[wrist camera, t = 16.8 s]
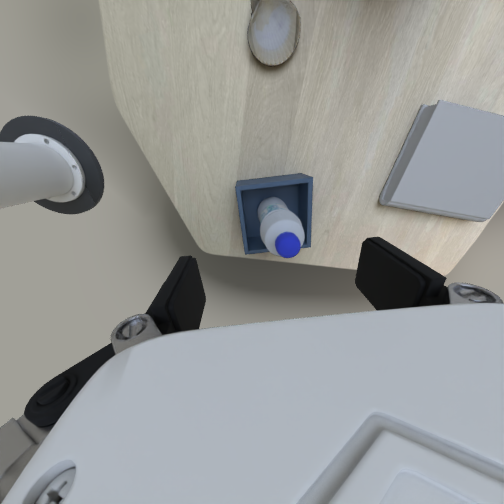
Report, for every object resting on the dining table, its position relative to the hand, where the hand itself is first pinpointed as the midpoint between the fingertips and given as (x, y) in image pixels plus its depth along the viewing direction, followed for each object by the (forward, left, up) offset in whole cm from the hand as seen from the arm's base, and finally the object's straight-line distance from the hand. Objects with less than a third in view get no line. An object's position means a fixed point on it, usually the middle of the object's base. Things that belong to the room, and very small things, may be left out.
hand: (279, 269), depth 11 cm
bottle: (+3, -6, -33) cm, 34 cm away
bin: (+3, -6, -34) cm, 34 cm away
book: (+41, -2, -34) cm, 54 cm away
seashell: (+5, +22, -34) cm, 41 cm away
